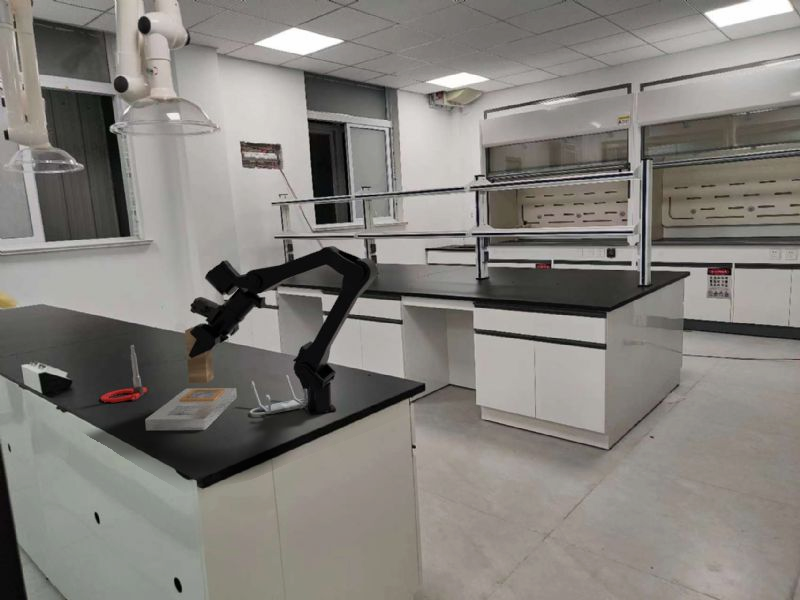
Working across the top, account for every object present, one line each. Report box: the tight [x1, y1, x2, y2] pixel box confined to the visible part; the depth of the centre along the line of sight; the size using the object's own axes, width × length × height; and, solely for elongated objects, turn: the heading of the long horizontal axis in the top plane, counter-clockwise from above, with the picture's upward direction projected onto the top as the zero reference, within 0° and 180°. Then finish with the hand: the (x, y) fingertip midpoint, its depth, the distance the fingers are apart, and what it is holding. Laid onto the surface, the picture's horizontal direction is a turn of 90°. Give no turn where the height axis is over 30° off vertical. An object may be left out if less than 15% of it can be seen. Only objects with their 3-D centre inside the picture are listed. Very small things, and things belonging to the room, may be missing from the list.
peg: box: [184, 326, 215, 384], centre depth 135 cm, size 4×4×13 cm
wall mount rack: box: [249, 374, 308, 416], centre depth 134 cm, size 16×14×6 cm
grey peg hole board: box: [144, 387, 238, 431], centre depth 131 cm, size 22×13×3 cm, turn 179°
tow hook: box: [100, 344, 148, 403], centre depth 143 cm, size 9×14×10 cm
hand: (193, 354), depth 135 cm, fingers closed on peg, 4 cm apart
